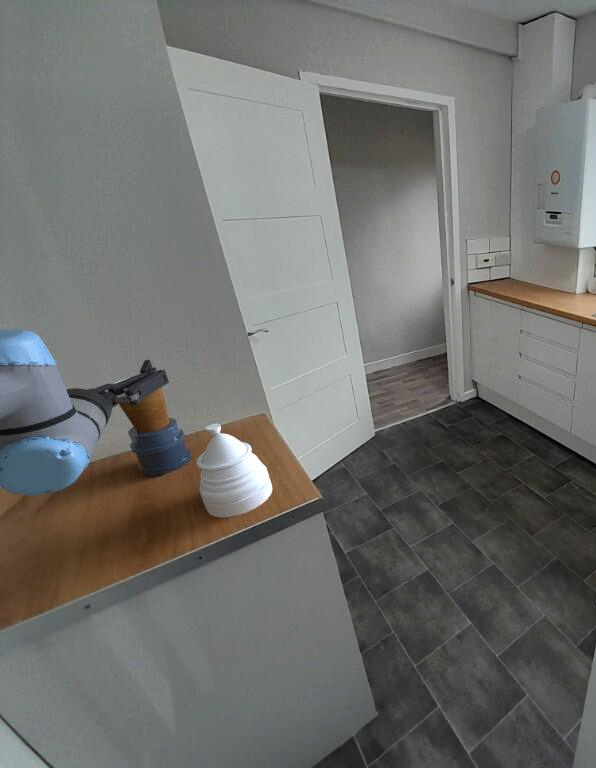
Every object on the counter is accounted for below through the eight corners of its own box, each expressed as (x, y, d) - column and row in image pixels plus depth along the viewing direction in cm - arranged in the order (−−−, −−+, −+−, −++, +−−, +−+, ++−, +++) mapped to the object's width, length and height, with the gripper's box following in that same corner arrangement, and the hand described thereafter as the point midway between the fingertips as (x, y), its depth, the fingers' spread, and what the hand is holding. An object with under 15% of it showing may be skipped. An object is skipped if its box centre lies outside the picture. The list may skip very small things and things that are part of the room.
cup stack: (132, 479, 98) (115, 440, 93) (152, 456, 107) (137, 419, 102) (183, 472, 101) (169, 433, 96) (198, 450, 110) (186, 414, 106)
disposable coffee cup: (118, 432, 97) (96, 386, 92) (161, 413, 105) (143, 371, 100) (144, 440, 94) (123, 393, 89) (186, 420, 102) (170, 377, 97)
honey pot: (196, 501, 91) (168, 433, 83) (255, 472, 101) (235, 408, 93) (222, 526, 85) (194, 454, 77) (283, 492, 94) (264, 426, 86)
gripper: (-45, 467, 55) (15, 406, 71) (184, 421, 68) (191, 378, 84) (-76, 419, 52) (-6, 366, 68) (170, 379, 65) (179, 343, 81)
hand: (102, 373), depth 76 cm, fingers open, 13 cm apart
